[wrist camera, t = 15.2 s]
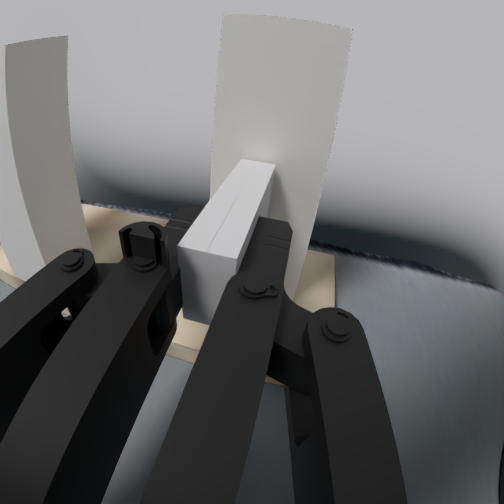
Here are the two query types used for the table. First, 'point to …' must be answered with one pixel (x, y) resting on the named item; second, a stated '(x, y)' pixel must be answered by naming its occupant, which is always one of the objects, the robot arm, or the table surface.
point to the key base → (188, 332)
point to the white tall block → (37, 158)
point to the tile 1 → (280, 113)
